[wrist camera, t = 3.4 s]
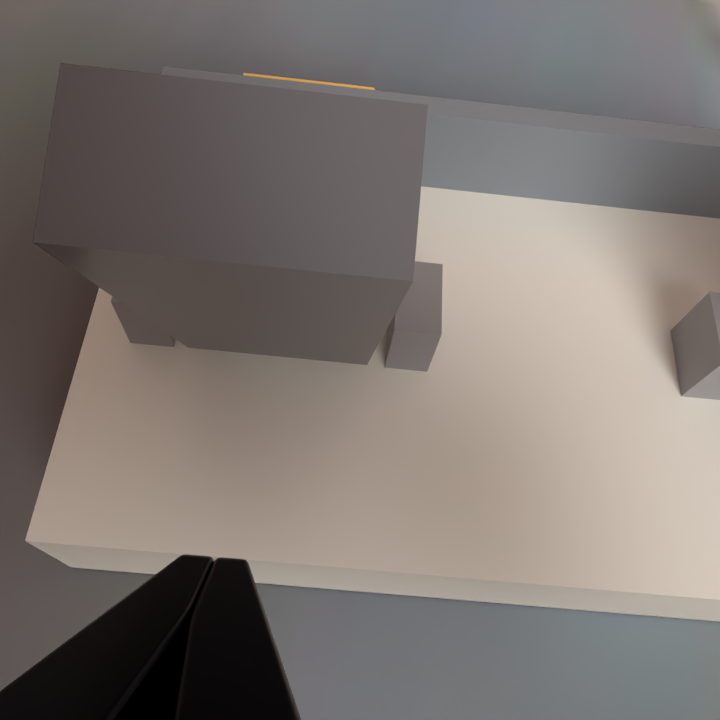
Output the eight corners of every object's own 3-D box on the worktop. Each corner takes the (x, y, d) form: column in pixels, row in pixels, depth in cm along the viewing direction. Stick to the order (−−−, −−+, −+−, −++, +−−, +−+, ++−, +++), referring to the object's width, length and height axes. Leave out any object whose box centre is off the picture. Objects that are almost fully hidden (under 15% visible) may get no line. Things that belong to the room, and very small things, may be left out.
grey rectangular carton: (365, 367, 16) (412, 281, 7) (192, 350, 15) (32, 242, 7) (373, 283, 16) (428, 105, 7) (203, 265, 16) (60, 63, 7)
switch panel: (957, 641, 17) (1225, 617, 12) (71, 567, 16) (-31, 508, 11) (843, 277, 22) (999, 155, 17) (164, 205, 21) (122, 55, 16)
